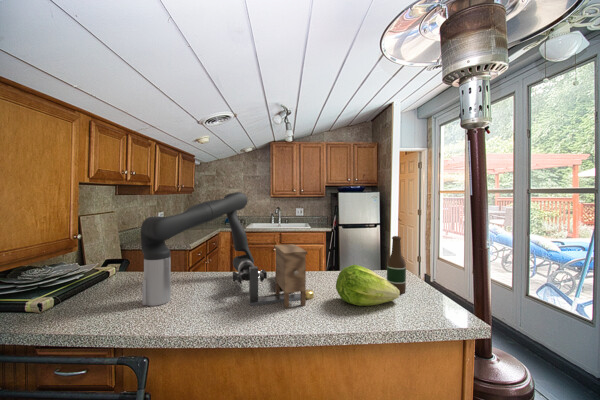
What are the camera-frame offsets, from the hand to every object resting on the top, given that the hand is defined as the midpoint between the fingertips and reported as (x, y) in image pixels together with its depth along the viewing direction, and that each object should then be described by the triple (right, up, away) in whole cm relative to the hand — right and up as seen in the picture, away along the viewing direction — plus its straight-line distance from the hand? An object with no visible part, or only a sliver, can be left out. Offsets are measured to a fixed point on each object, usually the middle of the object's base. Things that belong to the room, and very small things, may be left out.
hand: (251, 280), depth 110 cm
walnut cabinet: (+15, -8, 0) cm, 17 cm away
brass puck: (+23, -8, +2) cm, 24 cm away
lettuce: (+46, -8, -3) cm, 47 cm away
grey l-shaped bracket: (+10, -8, -2) cm, 13 cm away
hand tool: (+9, -8, +21) cm, 24 cm away
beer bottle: (+62, -8, +10) cm, 63 cm away
